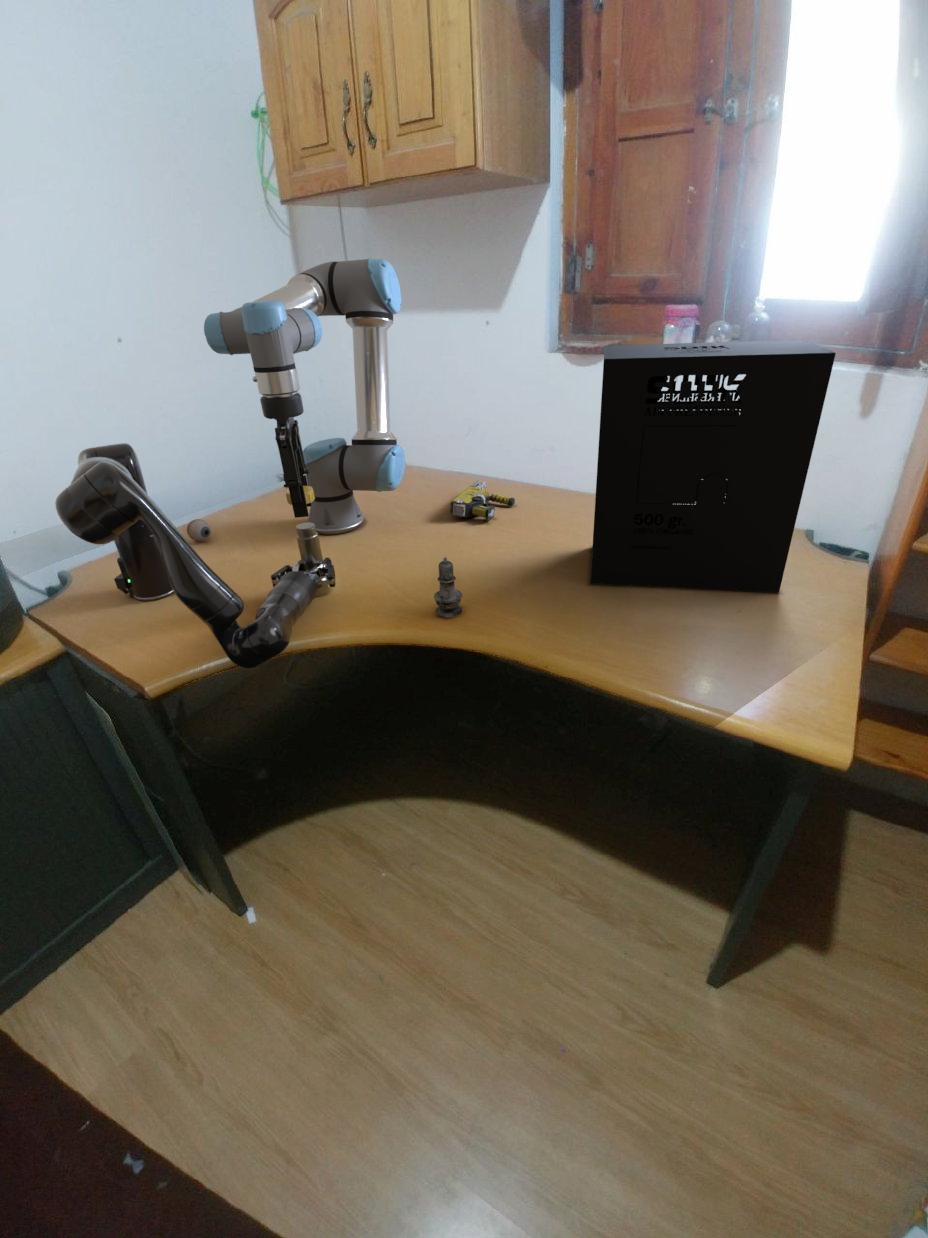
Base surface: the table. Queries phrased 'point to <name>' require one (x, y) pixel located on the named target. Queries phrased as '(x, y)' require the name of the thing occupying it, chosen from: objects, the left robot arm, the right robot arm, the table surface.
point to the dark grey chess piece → (447, 591)
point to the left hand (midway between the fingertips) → (317, 561)
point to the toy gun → (477, 502)
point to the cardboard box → (704, 462)
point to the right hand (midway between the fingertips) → (303, 511)
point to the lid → (308, 495)
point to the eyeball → (199, 530)
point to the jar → (310, 550)
